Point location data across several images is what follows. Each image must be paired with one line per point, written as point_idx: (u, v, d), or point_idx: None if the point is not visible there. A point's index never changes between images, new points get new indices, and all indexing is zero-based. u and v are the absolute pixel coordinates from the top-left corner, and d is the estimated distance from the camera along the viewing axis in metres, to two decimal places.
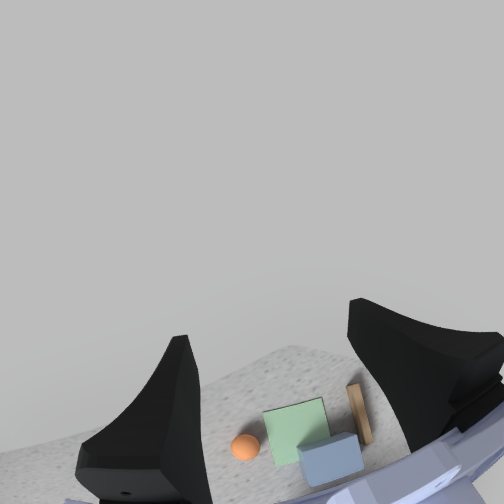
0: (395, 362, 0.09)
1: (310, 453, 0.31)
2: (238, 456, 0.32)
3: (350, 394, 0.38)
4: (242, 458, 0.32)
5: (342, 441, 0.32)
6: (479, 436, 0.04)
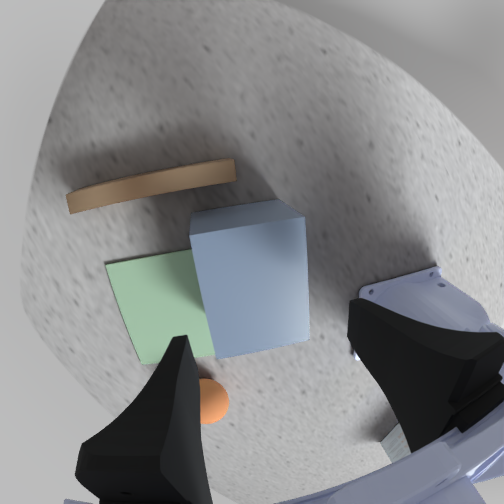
0: (395, 362, 0.09)
1: (223, 345, 0.17)
2: (220, 418, 0.21)
3: None
4: (225, 413, 0.21)
5: (202, 276, 0.15)
6: (479, 436, 0.04)
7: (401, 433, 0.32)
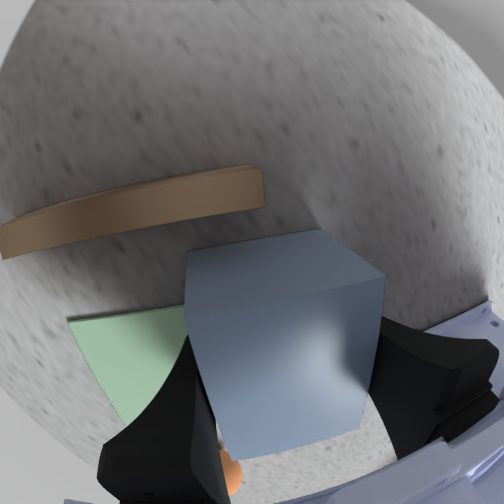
0: (381, 367, 0.09)
1: (242, 449, 0.10)
2: None
3: None
4: (238, 487, 0.15)
5: (210, 377, 0.08)
6: (479, 436, 0.04)
7: None
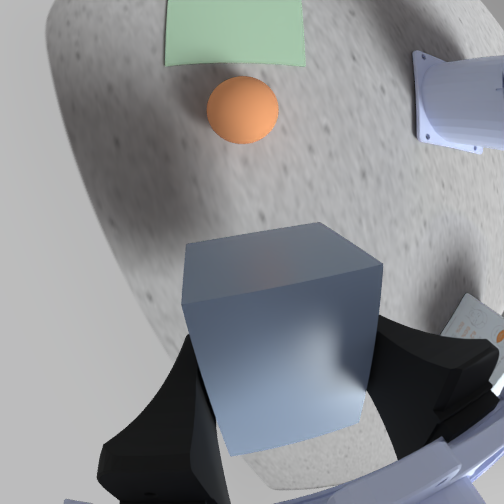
0: (381, 367, 0.09)
1: (240, 443, 0.10)
2: (265, 128, 0.15)
3: None
4: (273, 120, 0.15)
5: (207, 366, 0.08)
6: (479, 436, 0.04)
7: (460, 325, 0.26)
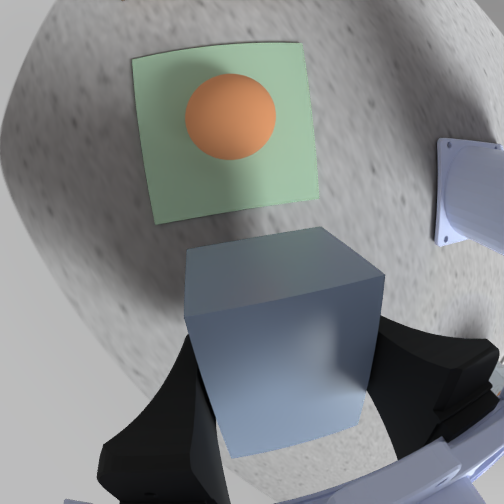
0: (381, 367, 0.09)
1: (241, 446, 0.10)
2: None
3: None
4: None
5: (210, 375, 0.08)
6: (479, 436, 0.04)
7: None
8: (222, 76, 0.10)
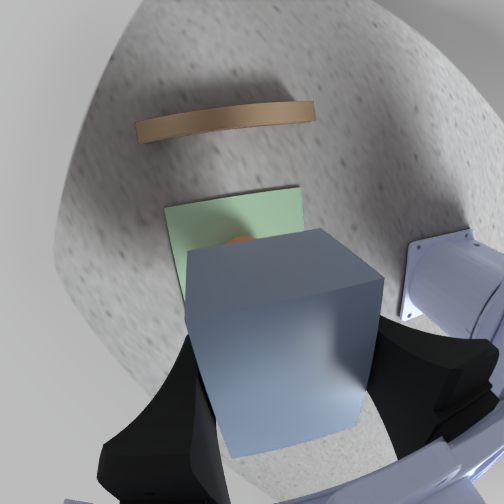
0: (381, 367, 0.09)
1: (241, 446, 0.10)
2: None
3: (165, 138, 0.16)
4: None
5: (210, 376, 0.08)
6: (479, 436, 0.04)
7: None
8: None
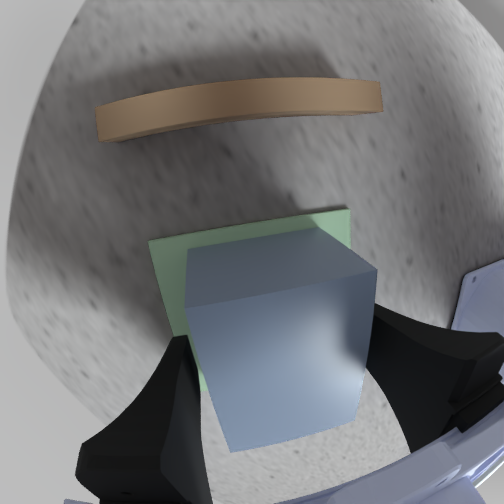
0: (395, 362, 0.09)
1: (240, 440, 0.10)
2: None
3: (146, 133, 0.09)
4: None
5: (209, 366, 0.09)
6: (479, 436, 0.04)
7: None
8: None
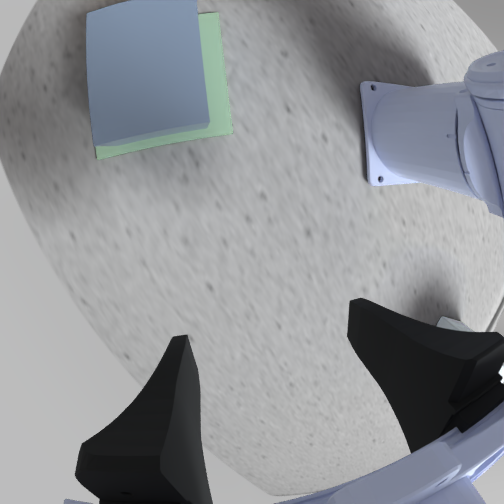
0: (395, 362, 0.09)
1: (101, 124, 0.12)
2: None
3: None
4: None
5: (90, 44, 0.10)
6: (479, 436, 0.04)
7: None
8: None
